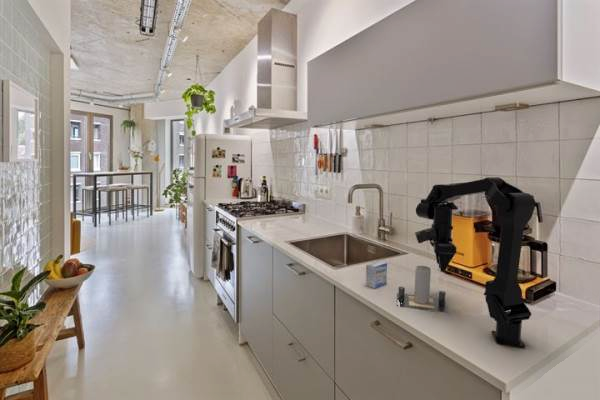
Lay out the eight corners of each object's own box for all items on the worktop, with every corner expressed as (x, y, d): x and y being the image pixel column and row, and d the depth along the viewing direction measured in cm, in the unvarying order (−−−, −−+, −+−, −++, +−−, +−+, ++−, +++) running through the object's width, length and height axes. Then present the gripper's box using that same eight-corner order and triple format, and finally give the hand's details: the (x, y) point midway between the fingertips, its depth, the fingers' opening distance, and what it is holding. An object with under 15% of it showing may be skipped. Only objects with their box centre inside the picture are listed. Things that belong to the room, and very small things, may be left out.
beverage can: (419, 305, 110) (421, 270, 109) (411, 299, 114) (412, 266, 113) (432, 303, 111) (433, 269, 110) (422, 298, 116) (424, 265, 114)
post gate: (448, 314, 105) (449, 299, 104) (396, 308, 110) (397, 293, 109) (444, 300, 116) (444, 286, 116) (397, 294, 121) (397, 281, 120)
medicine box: (374, 289, 125) (375, 266, 124) (365, 285, 128) (365, 264, 127) (386, 284, 130) (387, 262, 129) (377, 281, 133) (378, 260, 132)
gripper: (415, 216, 121) (413, 258, 122) (418, 225, 103) (417, 274, 105) (448, 218, 118) (446, 260, 119) (457, 227, 100) (455, 277, 101)
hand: (440, 267), depth 111 cm, fingers open, 9 cm apart
